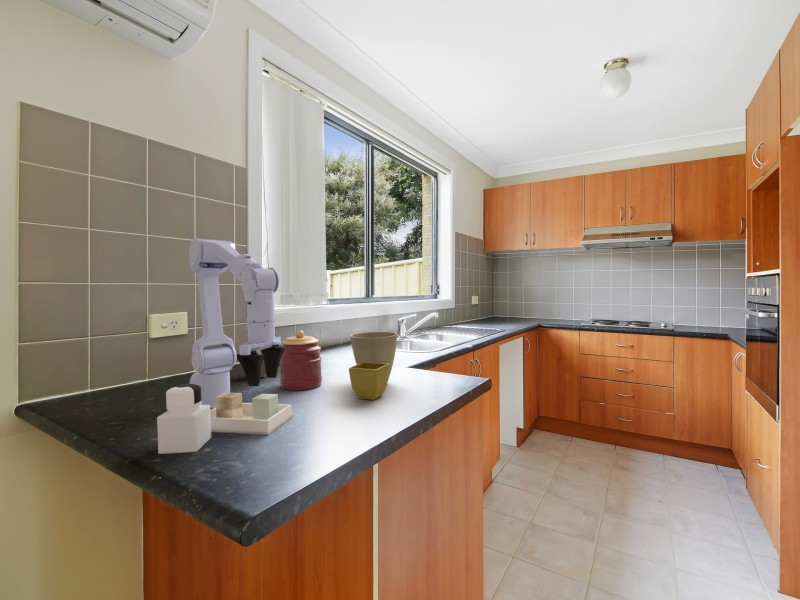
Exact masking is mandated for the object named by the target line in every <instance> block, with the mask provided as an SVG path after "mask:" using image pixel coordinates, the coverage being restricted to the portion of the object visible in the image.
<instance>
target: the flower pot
mask: <svg viewBox="0 0 800 600" xmlns="http://www.w3.org/2000/svg"><path fill="white" fill-rule="evenodd" d="M348 372H349V373H348V374H349V378H350V386H351V388H352V390H353V393H354V394H355V396H356V397H357V398H358V399H360V400H362V399H363V400H372V401H375V400H377V399H378V398H379V397H381V396H383V395H384V392H385V391H386V388H387V386H388V383H387V382H389V380H388V374H389V364H387V363H368V362H362V363H360V364H357V365H356V364H355V365H352V366H350V367H348Z"/></svg>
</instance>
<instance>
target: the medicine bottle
mask: <svg viewBox="0 0 800 600" xmlns="http://www.w3.org/2000/svg"><path fill="white" fill-rule="evenodd" d="M165 400H166V410H167V411H165V412H163V413H162V414H159V415H158V416H157V417H156V431H157V432H156V434H157V453H158V454H159V455H165V454H166V455H167V454H183V453H184V454H188V453H189V454H190V453H196V452H198V451H199V450H200V449H201V448H202V447H203V446H204V445H206V444H207V443H208V442H209V440H211V438H212V432H211V415H210V410H211V408H210V405H201V404H202V399H201V387H200V386H199V385H196V384H190V383H183V384H177V385H174V386H172V387H170V388H168V389H167V390H166V391H165Z"/></svg>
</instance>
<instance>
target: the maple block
mask: <svg viewBox="0 0 800 600" xmlns="http://www.w3.org/2000/svg"><path fill="white" fill-rule="evenodd" d="M242 403H243V392H230V393H227V392H226V393H224V394H222V395H220V396H217V397H216V417H217V418H238V419H242V418H243V411H242Z"/></svg>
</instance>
